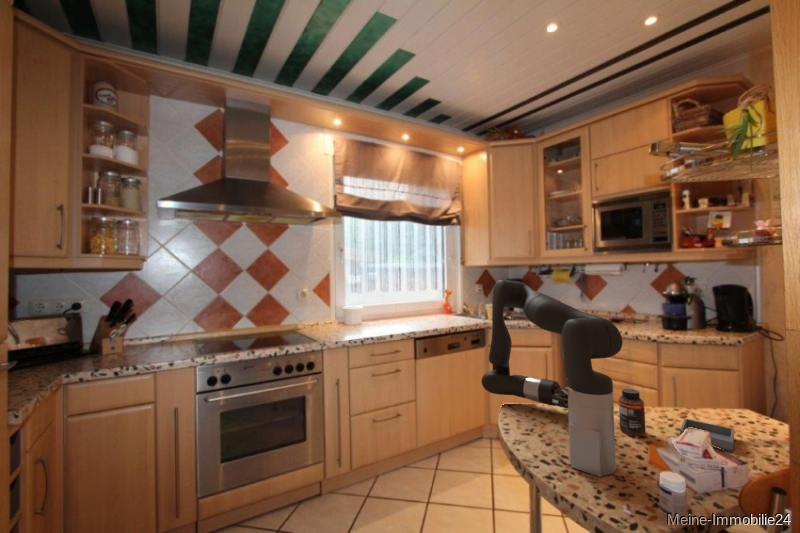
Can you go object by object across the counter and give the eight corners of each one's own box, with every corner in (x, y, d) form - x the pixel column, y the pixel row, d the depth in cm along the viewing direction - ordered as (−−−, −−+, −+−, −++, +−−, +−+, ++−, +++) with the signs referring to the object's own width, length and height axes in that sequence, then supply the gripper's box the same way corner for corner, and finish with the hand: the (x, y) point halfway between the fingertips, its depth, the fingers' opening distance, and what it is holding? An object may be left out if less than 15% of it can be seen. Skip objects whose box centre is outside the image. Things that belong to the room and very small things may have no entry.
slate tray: (733, 452, 85) (733, 442, 85) (680, 439, 92) (680, 430, 92) (734, 438, 92) (733, 428, 92) (685, 427, 99) (684, 418, 99)
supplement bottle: (637, 427, 99) (636, 387, 99) (650, 437, 93) (649, 394, 93) (615, 427, 100) (614, 386, 100) (626, 437, 94) (625, 394, 94)
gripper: (531, 384, 109) (589, 395, 97) (549, 374, 119) (603, 383, 108) (532, 408, 109) (590, 423, 97) (550, 396, 119) (604, 408, 107)
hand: (597, 402), depth 102 cm, fingers open, 8 cm apart
